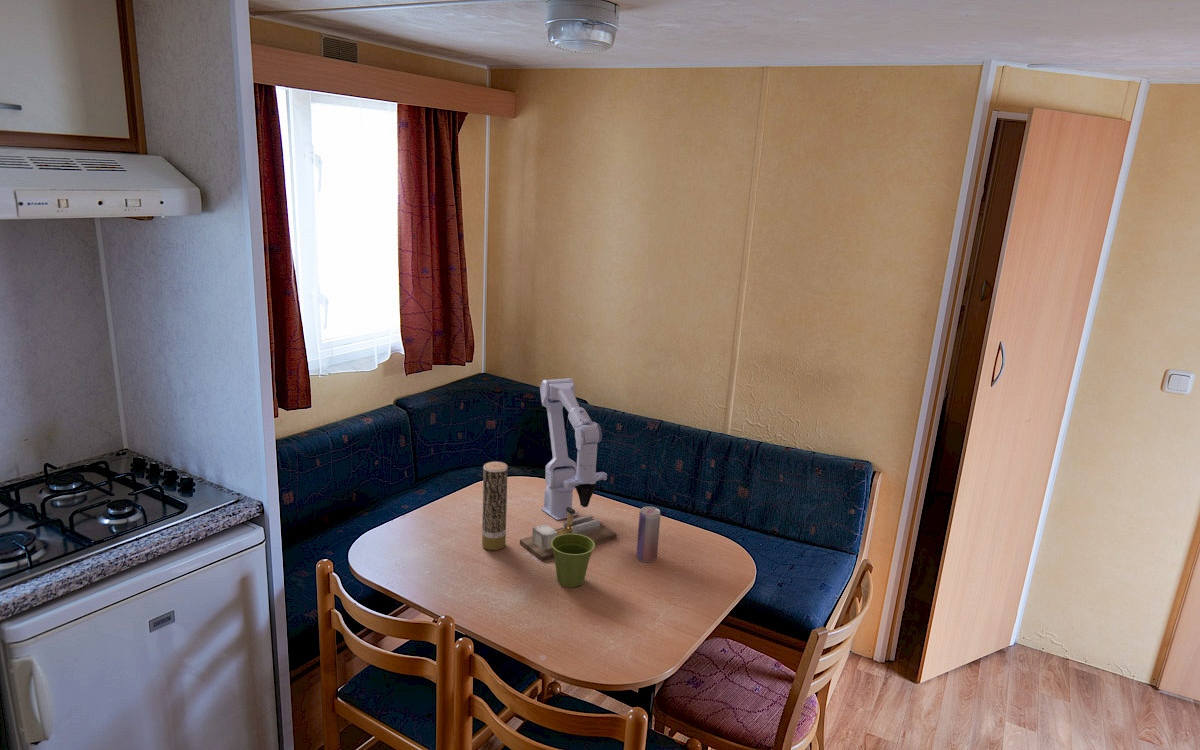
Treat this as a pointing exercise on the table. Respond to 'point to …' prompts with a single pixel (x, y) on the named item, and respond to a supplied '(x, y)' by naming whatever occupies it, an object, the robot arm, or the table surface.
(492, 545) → the brown tall cylinder
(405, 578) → the table surface
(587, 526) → the sleeve
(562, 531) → the sliding latch bolt
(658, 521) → the beverage can
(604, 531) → the base board
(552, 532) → the socket block
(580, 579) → the plant pot
